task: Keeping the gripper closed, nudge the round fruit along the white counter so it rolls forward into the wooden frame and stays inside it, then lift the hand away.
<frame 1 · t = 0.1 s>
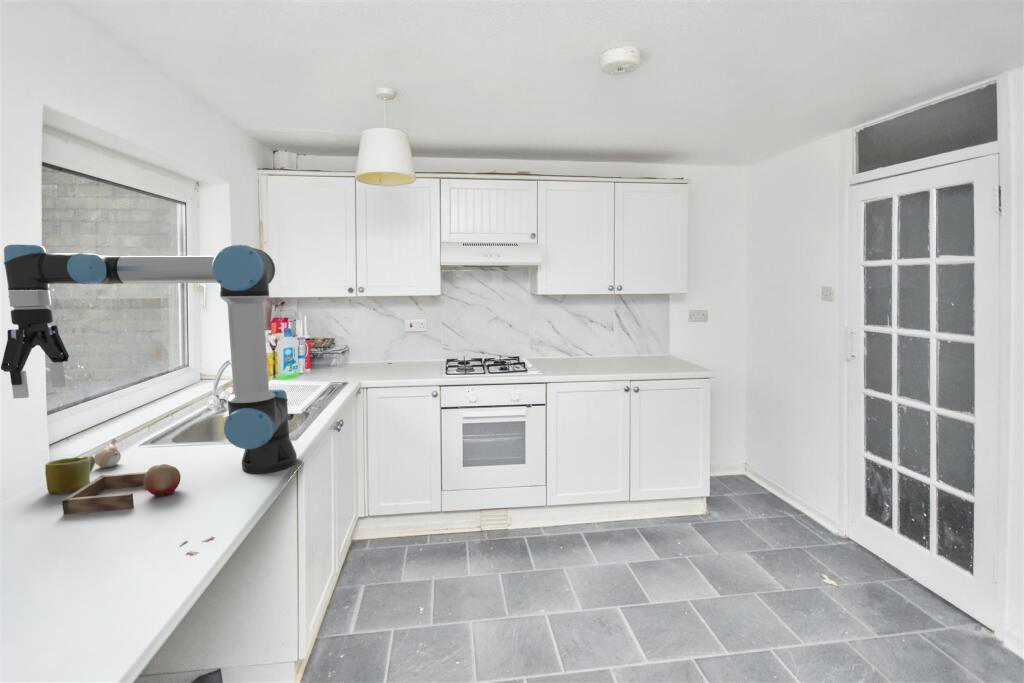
hand: (41, 392, 129), 28 cm above the worktop, fingers open, 13 cm apart
mug: (75, 487, 139), on the worktop
garlic bulb: (108, 467, 155), on the worktop
fruit: (163, 494, 134), on the worktop
wooden frame: (116, 497, 132), on the worktop
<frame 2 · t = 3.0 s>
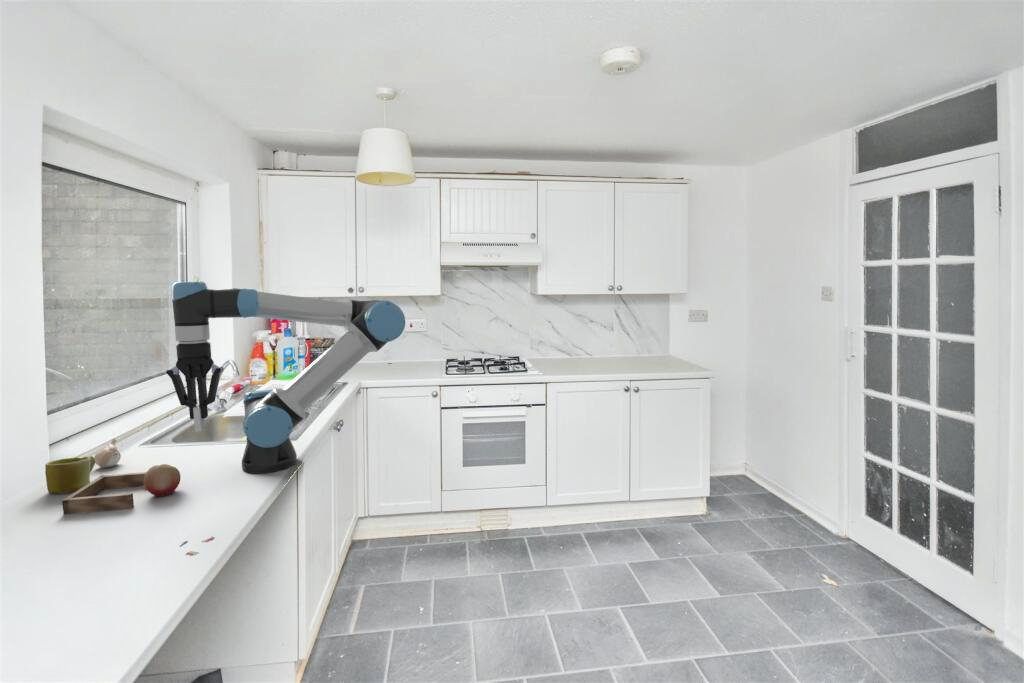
hand: (200, 430, 134), 16 cm above the worktop, fingers closed
nothing on the worktop moved.
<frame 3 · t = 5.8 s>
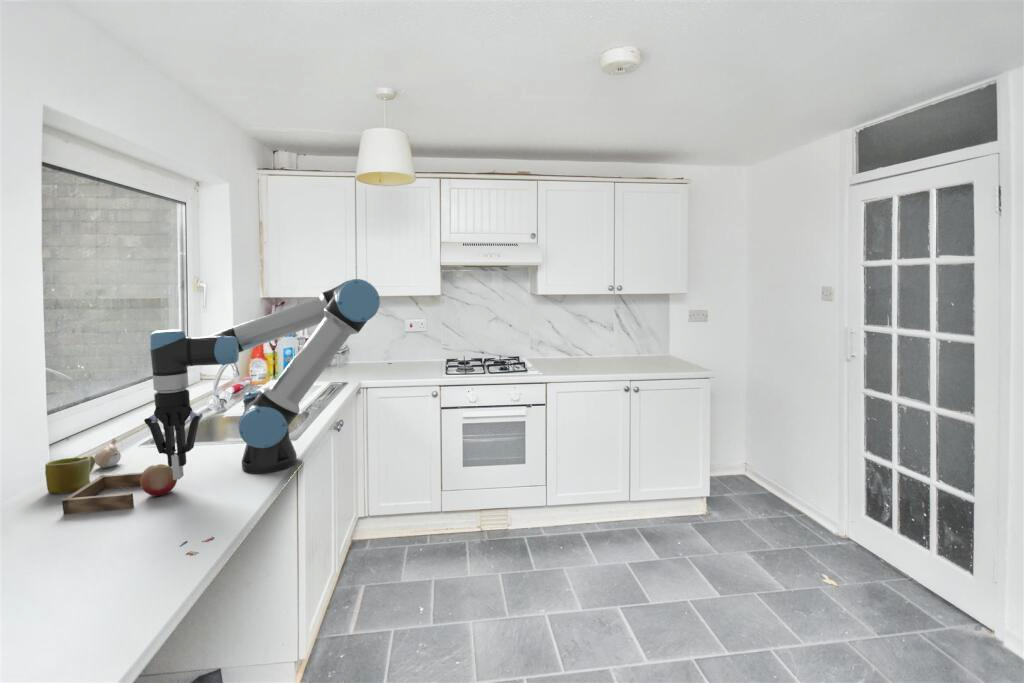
hand: (178, 477, 134), 4 cm above the worktop, fingers closed
fruit: (160, 494, 134), on the worktop, touching gripper
everything else where it was.
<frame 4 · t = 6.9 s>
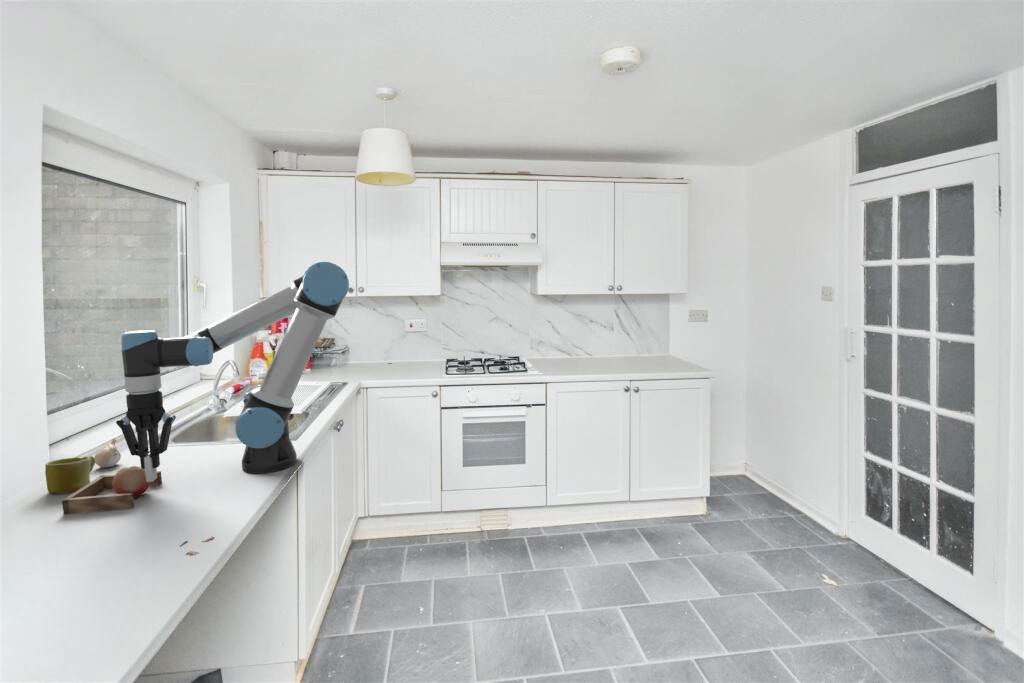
hand: (151, 479, 133), 4 cm above the worktop, fingers closed
fruit: (133, 496, 133), on the worktop, touching gripper
everything else where it was.
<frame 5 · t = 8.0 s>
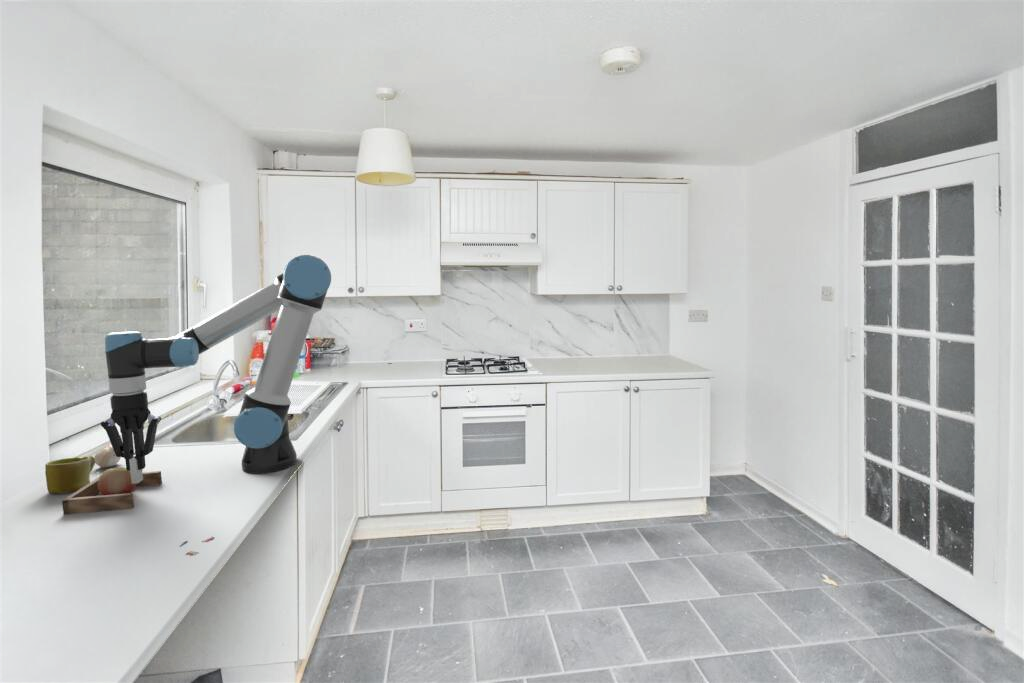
hand: (137, 481, 132), 4 cm above the worktop, fingers closed
fruit: (119, 498, 132), on the worktop, touching gripper
everything else where it was.
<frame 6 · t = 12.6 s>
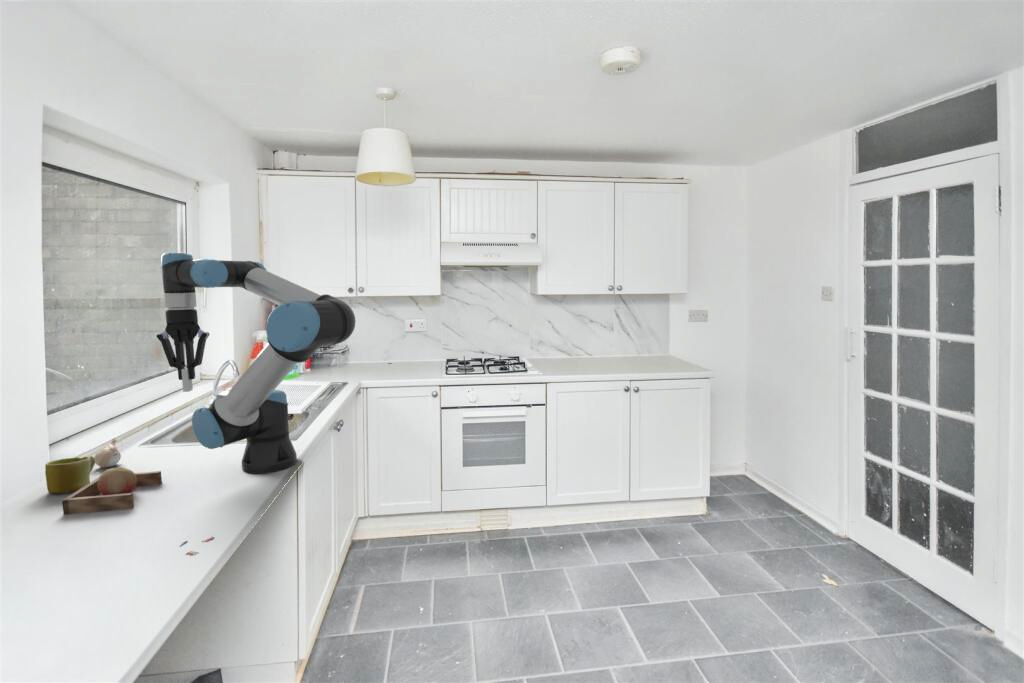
hand: (188, 390, 146), 24 cm above the worktop, fingers closed
fruit: (119, 498, 132), on the worktop
everything else where it was.
at the end: fruit inside the target area on the wooden frame (0.9 cm from its centre), point 0.0 cm above the wooden frame's base; fruit moved 10.4 cm from its start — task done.
